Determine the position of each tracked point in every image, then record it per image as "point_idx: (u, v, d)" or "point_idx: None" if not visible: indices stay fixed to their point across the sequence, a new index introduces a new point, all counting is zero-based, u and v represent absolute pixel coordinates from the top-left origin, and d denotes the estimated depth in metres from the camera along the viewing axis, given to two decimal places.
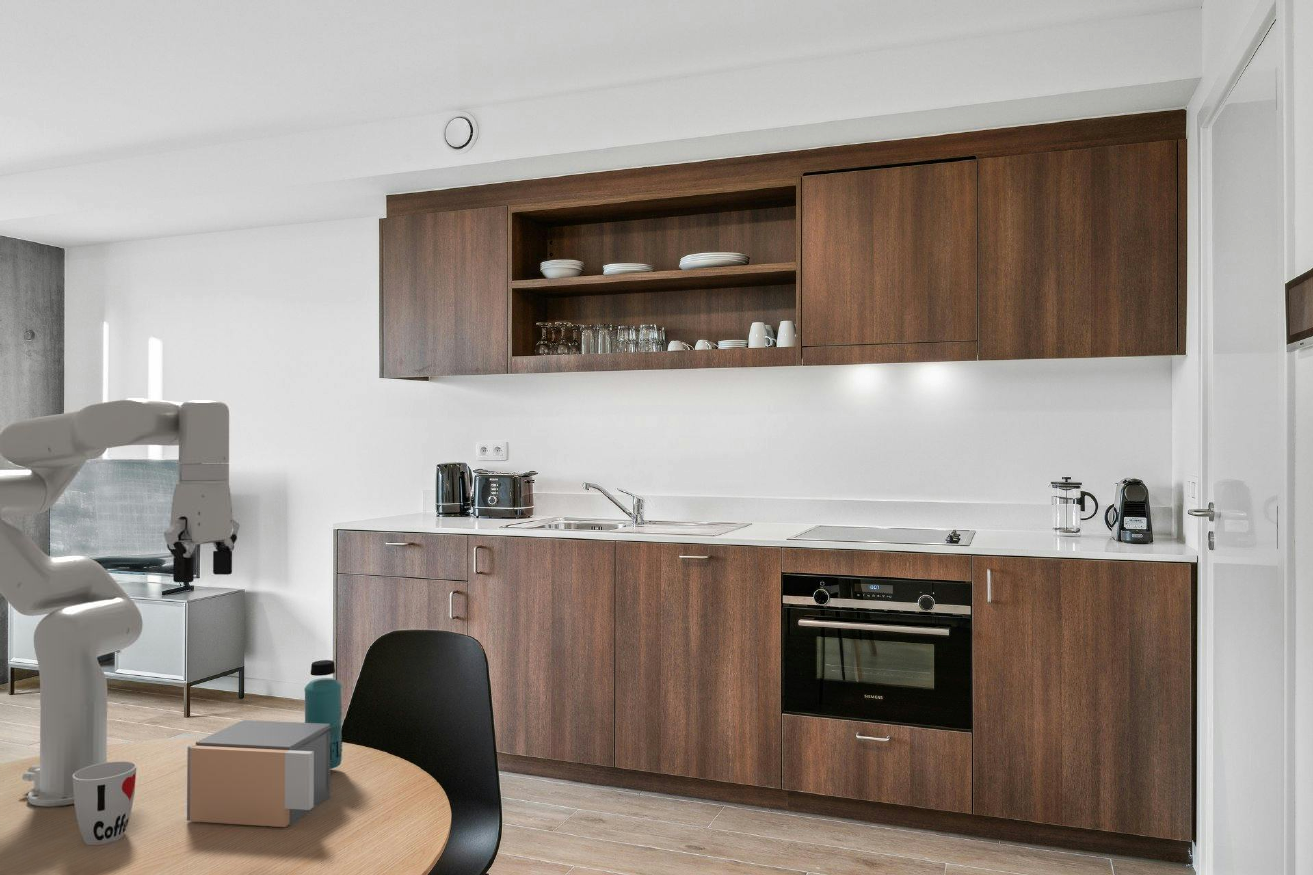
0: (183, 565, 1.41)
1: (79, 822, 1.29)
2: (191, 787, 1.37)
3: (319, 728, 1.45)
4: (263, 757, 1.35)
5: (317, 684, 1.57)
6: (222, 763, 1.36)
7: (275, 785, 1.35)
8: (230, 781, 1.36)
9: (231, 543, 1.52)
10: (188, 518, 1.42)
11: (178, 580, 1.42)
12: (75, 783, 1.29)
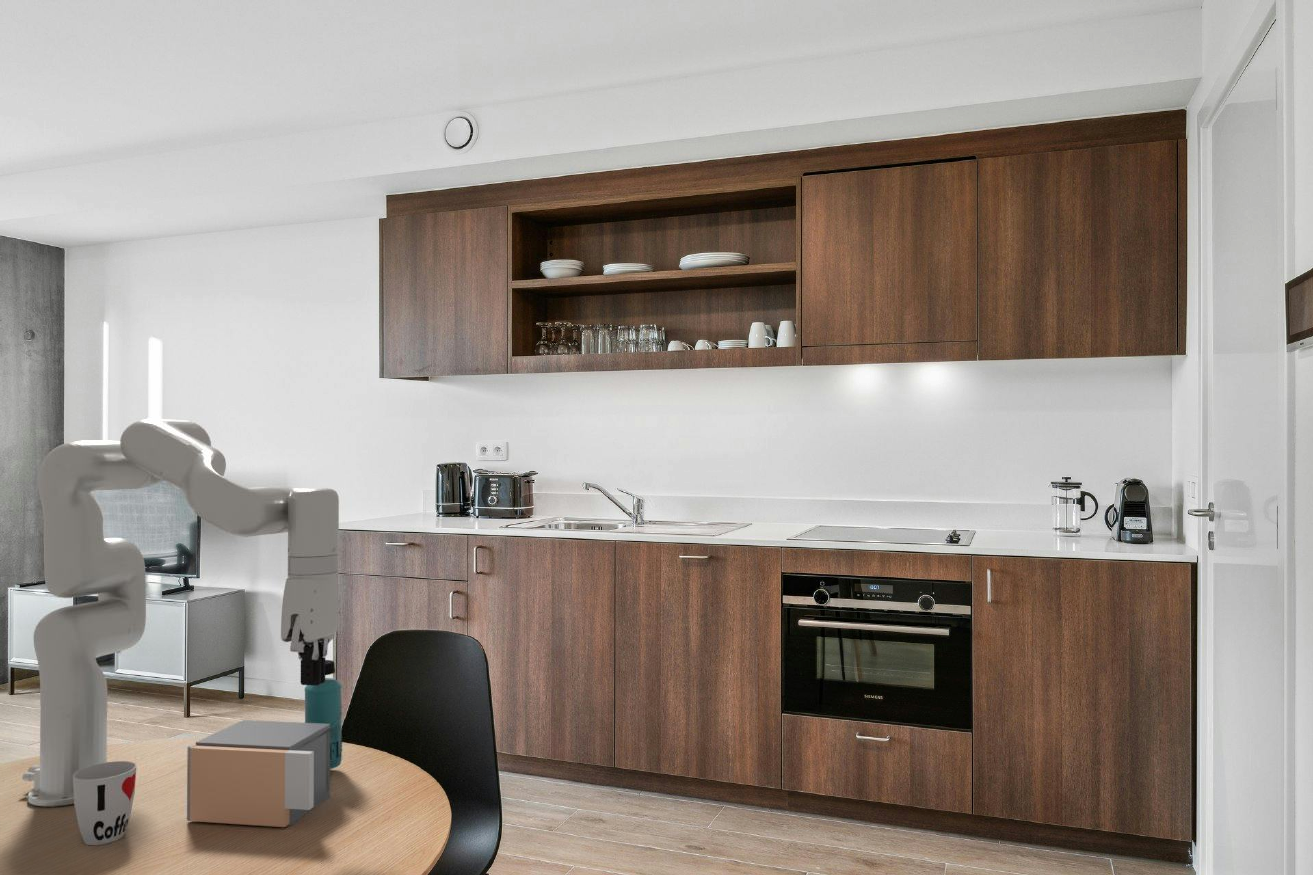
0: (311, 668, 1.37)
1: (79, 822, 1.29)
2: (191, 787, 1.37)
3: (319, 728, 1.45)
4: (263, 757, 1.35)
5: None
6: (222, 763, 1.36)
7: (275, 785, 1.35)
8: (230, 781, 1.36)
9: (324, 649, 1.40)
10: (300, 616, 1.34)
11: (305, 683, 1.38)
12: (75, 783, 1.29)
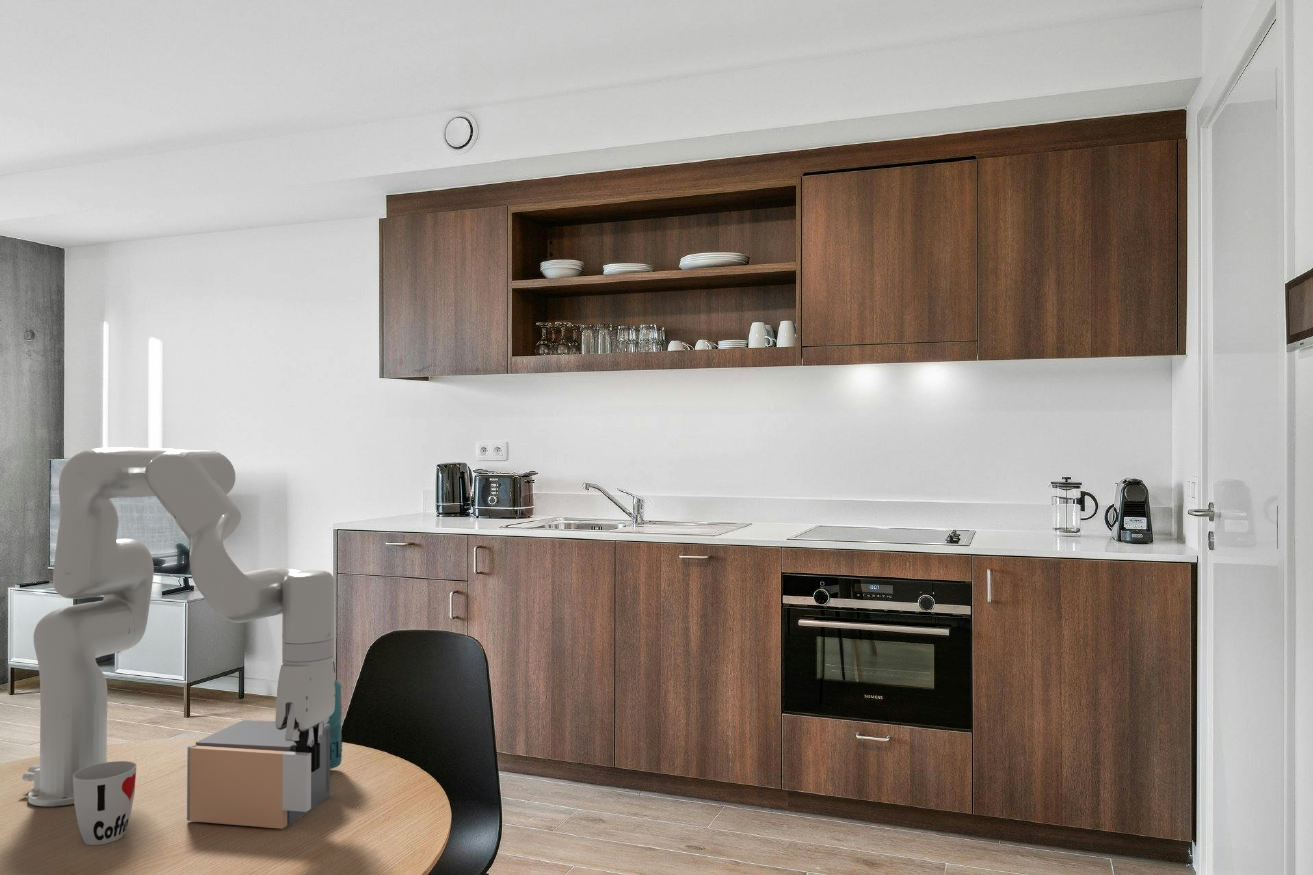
0: None
1: (79, 822, 1.29)
2: (191, 787, 1.37)
3: None
4: (261, 758, 1.35)
5: None
6: (221, 763, 1.36)
7: (273, 786, 1.34)
8: (229, 782, 1.36)
9: (319, 734, 1.38)
10: (295, 704, 1.32)
11: None
12: (75, 783, 1.29)
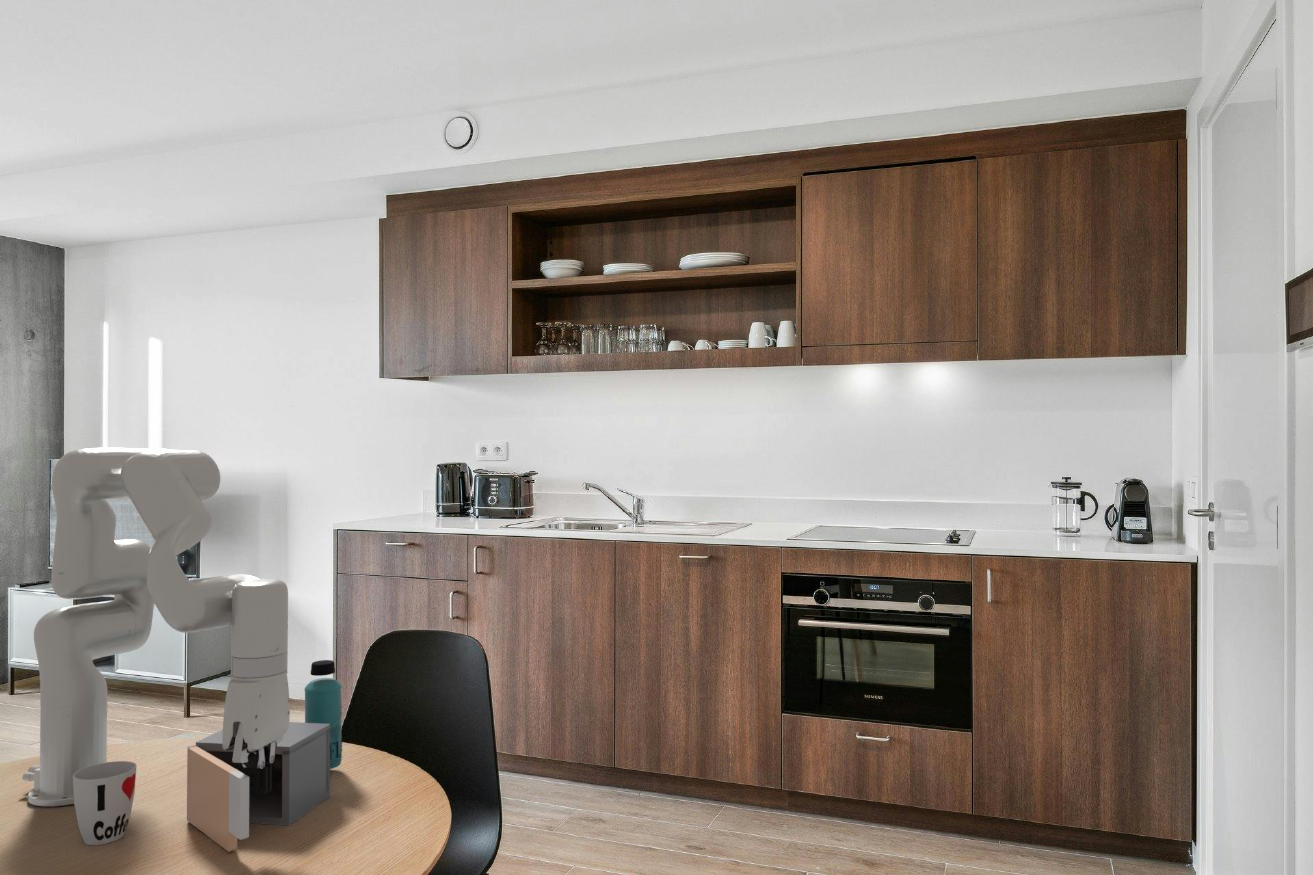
0: (257, 777, 1.26)
1: (79, 822, 1.29)
2: (188, 787, 1.37)
3: (319, 728, 1.45)
4: (219, 772, 1.28)
5: (317, 684, 1.57)
6: (201, 770, 1.33)
7: (224, 804, 1.27)
8: (204, 790, 1.32)
9: (271, 754, 1.29)
10: (244, 723, 1.23)
11: (250, 792, 1.27)
12: (75, 783, 1.29)
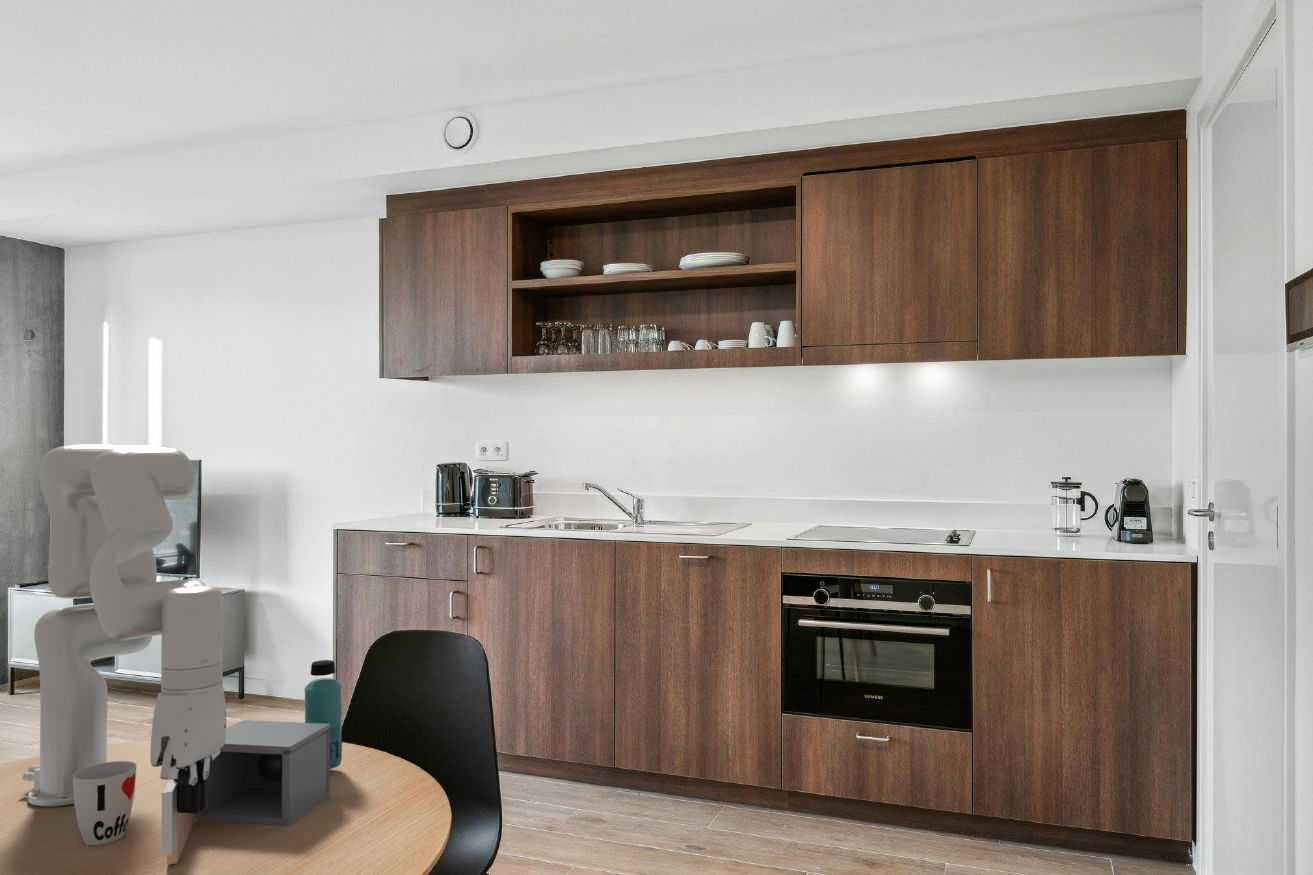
0: (188, 794, 1.20)
1: (79, 822, 1.29)
2: None
3: (319, 728, 1.45)
4: None
5: (317, 684, 1.57)
6: None
7: None
8: None
9: (205, 770, 1.22)
10: (172, 738, 1.17)
11: (182, 810, 1.21)
12: (75, 783, 1.29)
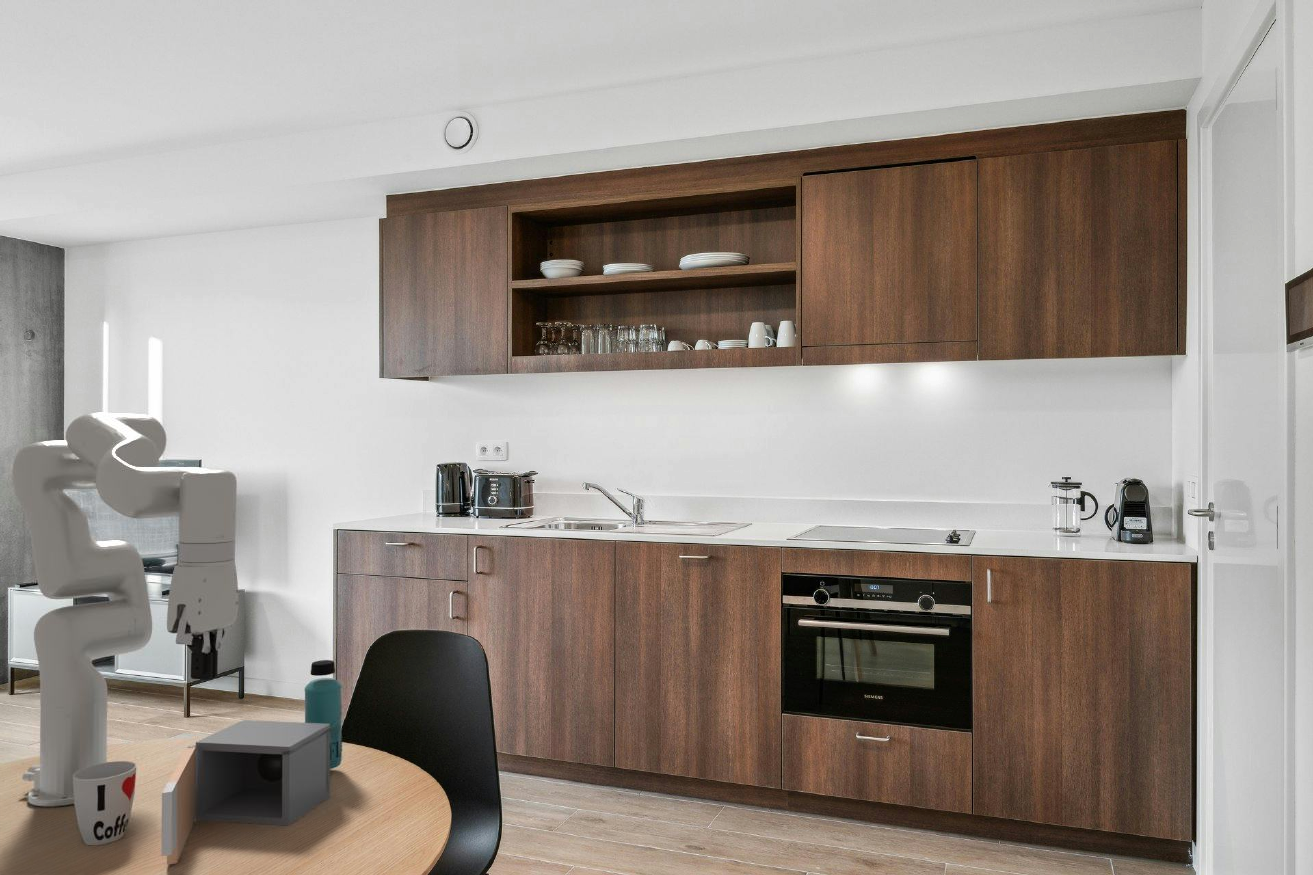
0: (201, 661, 1.29)
1: (79, 822, 1.29)
2: None
3: (319, 728, 1.45)
4: None
5: (317, 684, 1.57)
6: None
7: None
8: None
9: (217, 641, 1.31)
10: (187, 606, 1.25)
11: (196, 677, 1.30)
12: (75, 783, 1.29)
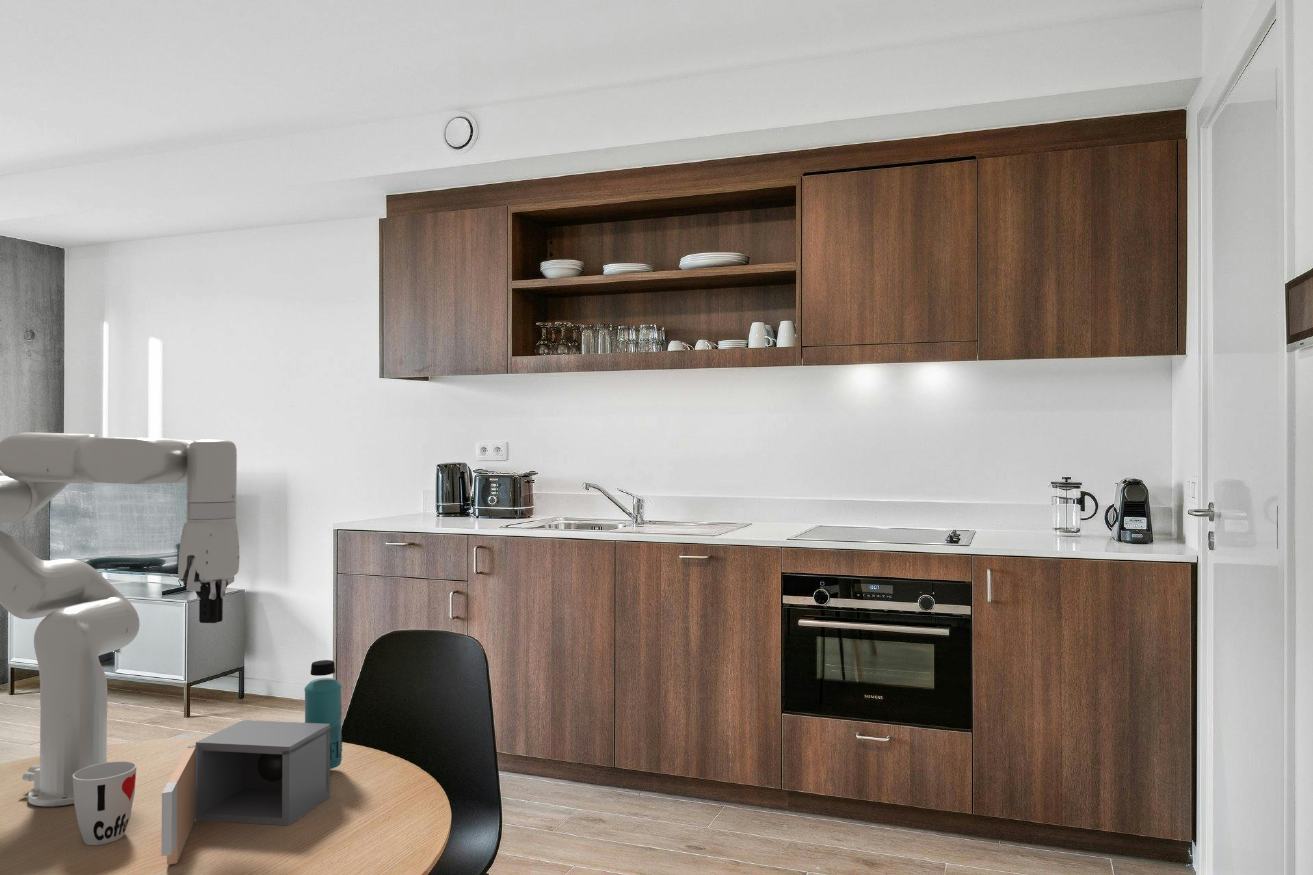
0: (209, 607, 1.47)
1: (79, 822, 1.29)
2: None
3: (319, 728, 1.45)
4: None
5: (317, 684, 1.57)
6: None
7: None
8: None
9: (222, 590, 1.49)
10: (196, 557, 1.44)
11: (204, 621, 1.48)
12: (75, 783, 1.29)
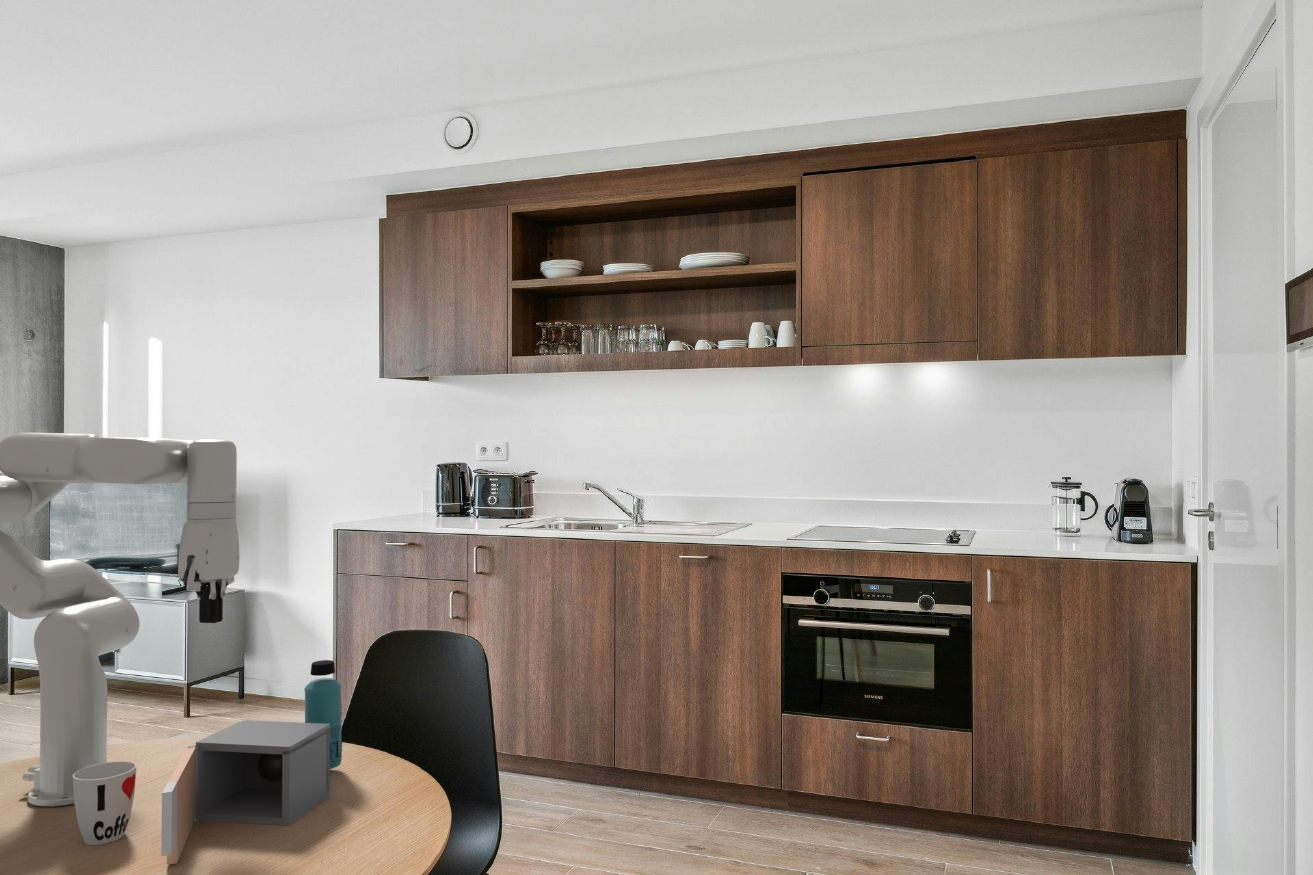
0: (209, 607, 1.47)
1: (79, 822, 1.29)
2: None
3: (319, 728, 1.45)
4: None
5: (317, 684, 1.57)
6: None
7: None
8: None
9: (222, 590, 1.49)
10: (196, 557, 1.44)
11: (204, 621, 1.48)
12: (75, 783, 1.29)
